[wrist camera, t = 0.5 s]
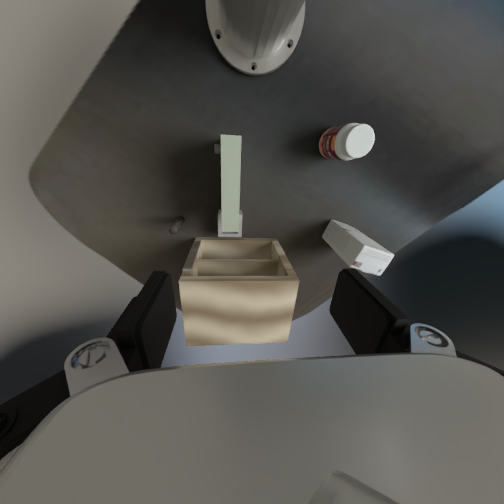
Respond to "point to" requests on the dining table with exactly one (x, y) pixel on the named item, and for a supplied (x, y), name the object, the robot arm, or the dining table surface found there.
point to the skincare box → (357, 248)
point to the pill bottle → (347, 141)
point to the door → (230, 186)
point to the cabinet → (236, 291)
